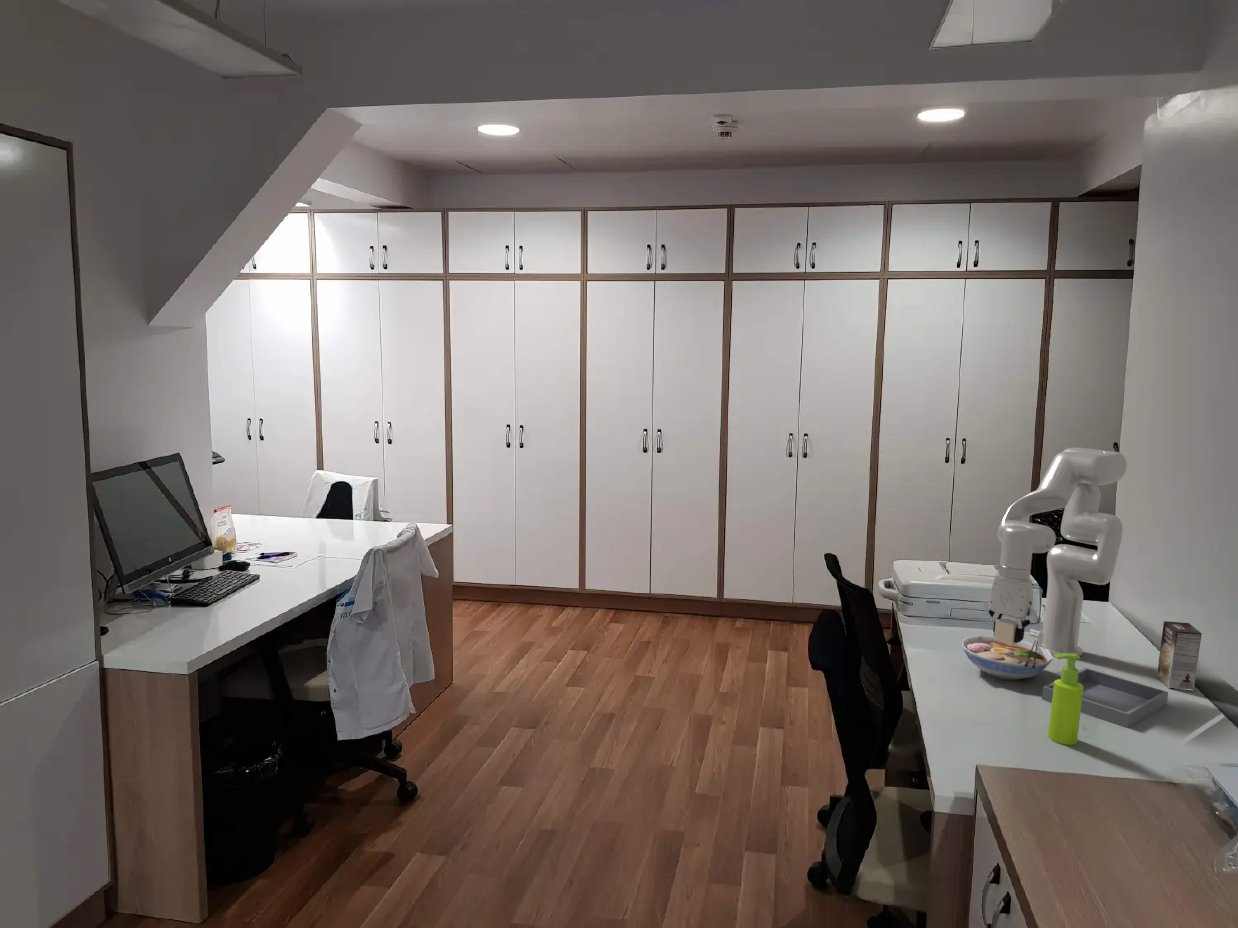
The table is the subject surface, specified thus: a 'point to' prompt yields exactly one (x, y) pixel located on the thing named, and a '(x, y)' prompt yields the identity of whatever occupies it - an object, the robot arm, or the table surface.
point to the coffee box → (1179, 655)
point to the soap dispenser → (1066, 703)
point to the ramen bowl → (1006, 657)
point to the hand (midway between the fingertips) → (1007, 637)
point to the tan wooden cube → (1005, 630)
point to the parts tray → (1114, 697)
